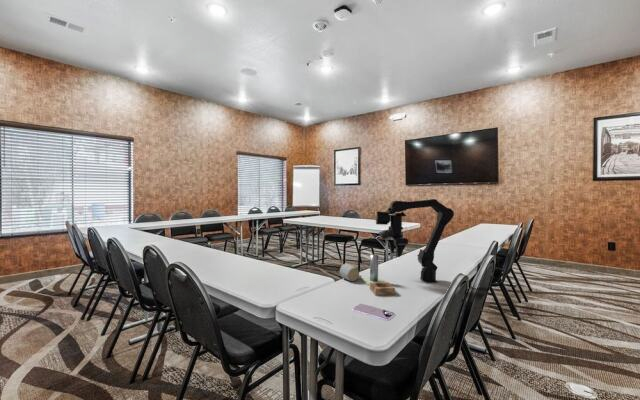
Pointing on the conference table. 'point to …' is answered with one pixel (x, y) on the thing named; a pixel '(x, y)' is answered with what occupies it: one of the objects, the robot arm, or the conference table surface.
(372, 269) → the peg
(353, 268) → the ceramic mug
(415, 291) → the conference table surface
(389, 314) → the mobile phone
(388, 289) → the wooden peg socket
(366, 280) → the coaster
